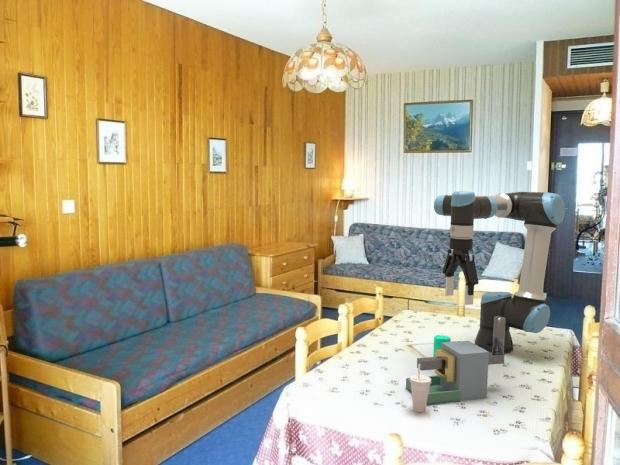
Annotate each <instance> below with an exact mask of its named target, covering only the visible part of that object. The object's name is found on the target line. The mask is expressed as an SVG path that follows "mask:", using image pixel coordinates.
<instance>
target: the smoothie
mask: <svg viewBox="0 0 620 465" xmlns="http://www.w3.org/2000/svg"><path fill="white" fill-rule="evenodd" d="M428 376H429V375H423V374H421V370H420V364H418V368H417V374H413V375H411V376H410V377H409V378H410V382H411V391H412V393H411V400H412V409H413V411H414V412H418V413H424V412H426V410H427V406H428V405H427V399H428V393H429V387H430V384H431V378H430V377H428Z"/></svg>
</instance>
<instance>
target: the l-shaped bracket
mask: <svg viewBox="0 0 620 465" xmlns="http://www.w3.org/2000/svg"><path fill="white" fill-rule="evenodd" d="M505 321H506V318H504V317H499V316H496V317H494V328H493V347H492V352H489V361H488V366H489V365H501V364H505V354H506V353H504V339H505ZM445 362H446V361H445V360H444V359H442V358H441V357H433V356H429V357H417V358H416V368H417V369H418V364H420V372H422V371H432V370H434V371H435V369H445Z"/></svg>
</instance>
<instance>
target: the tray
mask: <svg viewBox="0 0 620 465" xmlns="http://www.w3.org/2000/svg"><path fill="white" fill-rule="evenodd" d="M427 376H428V377H430V378H431V384H430V387H429V393H428V399H427V405H426V406H433V405H441V404H450V403H459V402H461V400H460V390H453V391H448V390H446V389H445V388H444V387H443V386H441V385H440V377H439V376H438V375H437V374H435V375H427ZM405 389H406V390H407V391H408V392H409V393H411V394H412V391H411V382H410V377H406V378H405Z"/></svg>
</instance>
